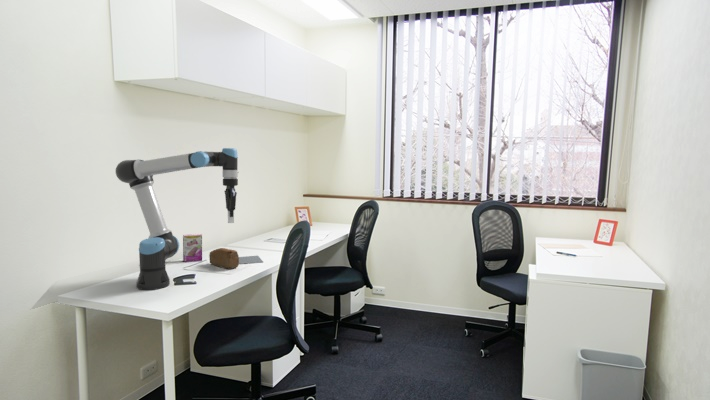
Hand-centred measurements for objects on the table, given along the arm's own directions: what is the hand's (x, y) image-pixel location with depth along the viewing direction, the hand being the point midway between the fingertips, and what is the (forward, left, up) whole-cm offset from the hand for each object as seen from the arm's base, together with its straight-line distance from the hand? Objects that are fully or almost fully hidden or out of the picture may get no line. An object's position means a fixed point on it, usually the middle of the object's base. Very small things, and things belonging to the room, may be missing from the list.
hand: (230, 222), depth 229 cm
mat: (+13, +40, -30) cm, 52 cm away
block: (+5, +20, -25) cm, 33 cm away
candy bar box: (-17, +50, -31) cm, 61 cm away
